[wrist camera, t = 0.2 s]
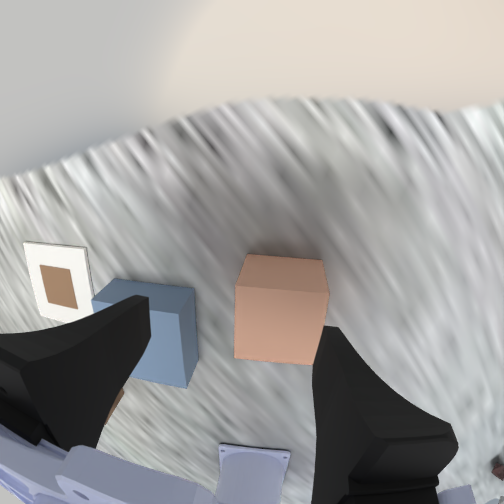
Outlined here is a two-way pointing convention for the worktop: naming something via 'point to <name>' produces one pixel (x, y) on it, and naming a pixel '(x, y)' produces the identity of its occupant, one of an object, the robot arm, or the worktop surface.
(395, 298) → the worktop surface
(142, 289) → the blue block
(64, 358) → the robot arm
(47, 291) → the card
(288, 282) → the peach block
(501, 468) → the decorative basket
